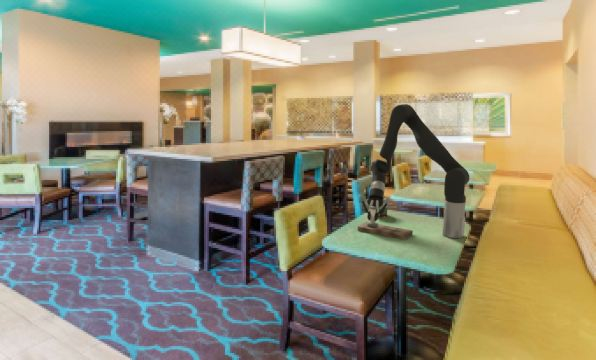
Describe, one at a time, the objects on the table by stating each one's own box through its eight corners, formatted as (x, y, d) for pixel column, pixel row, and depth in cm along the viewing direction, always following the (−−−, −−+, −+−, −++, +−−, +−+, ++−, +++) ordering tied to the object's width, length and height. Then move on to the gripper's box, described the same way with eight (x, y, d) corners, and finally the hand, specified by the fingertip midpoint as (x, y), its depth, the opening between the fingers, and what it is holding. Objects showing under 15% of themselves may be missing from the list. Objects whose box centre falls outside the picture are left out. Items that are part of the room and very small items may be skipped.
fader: (377, 225, 193) (378, 206, 192) (374, 227, 190) (375, 208, 188) (370, 223, 196) (371, 205, 194) (367, 225, 192) (368, 207, 191)
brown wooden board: (412, 234, 187) (412, 230, 186) (405, 239, 179) (405, 235, 178) (365, 225, 201) (366, 221, 200) (357, 230, 193) (357, 226, 192)
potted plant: (383, 218, 214) (384, 201, 212) (373, 217, 217) (374, 200, 216) (392, 214, 223) (393, 197, 222) (382, 212, 227) (383, 196, 225)
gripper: (363, 186, 199) (357, 214, 190) (390, 188, 194) (385, 217, 185) (364, 194, 205) (359, 222, 196) (390, 196, 200) (386, 225, 191)
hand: (372, 219), depth 190 cm, fingers closed on fader, 2 cm apart
